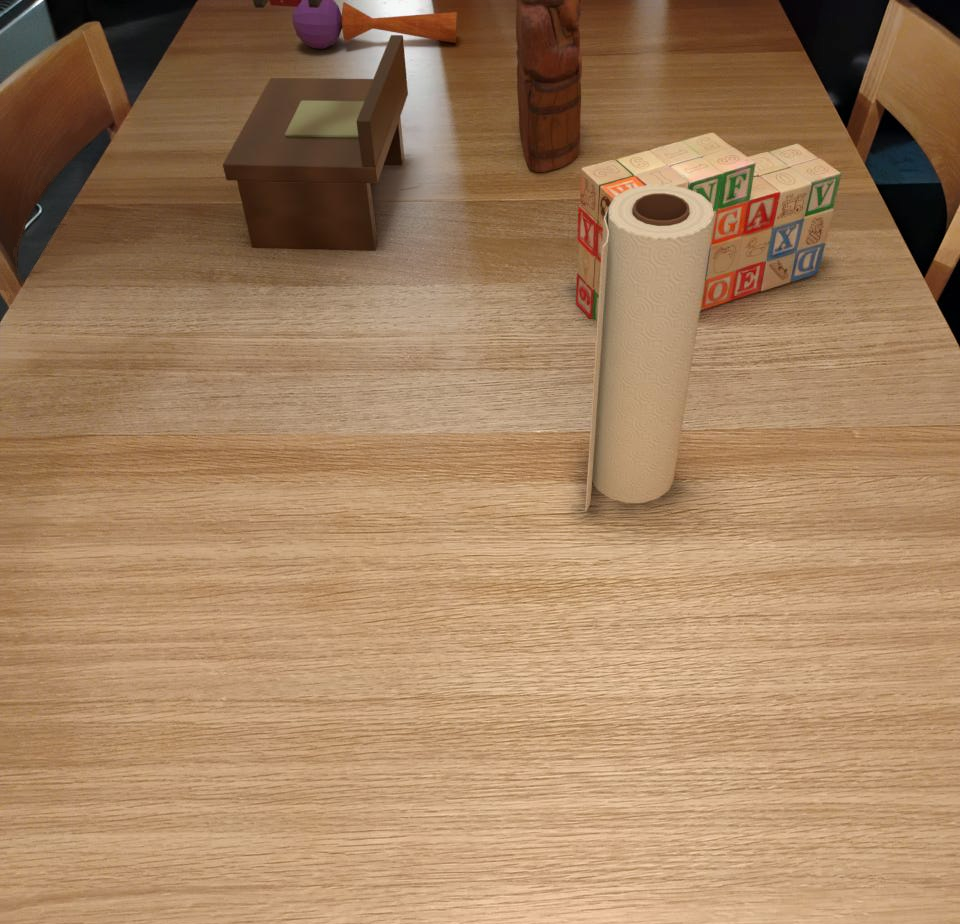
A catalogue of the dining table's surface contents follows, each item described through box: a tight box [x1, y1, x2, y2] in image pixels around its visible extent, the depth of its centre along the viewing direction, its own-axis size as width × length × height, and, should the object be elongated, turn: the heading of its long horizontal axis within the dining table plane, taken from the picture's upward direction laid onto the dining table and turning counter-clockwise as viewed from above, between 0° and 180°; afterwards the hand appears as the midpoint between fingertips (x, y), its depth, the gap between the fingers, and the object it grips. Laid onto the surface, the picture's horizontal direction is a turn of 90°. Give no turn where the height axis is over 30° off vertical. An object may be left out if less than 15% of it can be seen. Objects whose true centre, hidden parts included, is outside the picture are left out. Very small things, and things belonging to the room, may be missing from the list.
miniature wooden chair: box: [222, 34, 409, 251], centre depth 96 cm, size 14×18×12 cm
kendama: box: [291, 0, 458, 50], centre depth 123 cm, size 6×6×20 cm
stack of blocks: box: [575, 132, 842, 320], centre depth 84 cm, size 21×6×12 cm, turn 114°
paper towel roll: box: [584, 185, 714, 512], centre depth 65 cm, size 7×6×21 cm
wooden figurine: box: [515, 0, 583, 173], centre depth 99 cm, size 12×6×18 cm, turn 3°
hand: (288, 3), depth 83 cm, fingers closed on dice, 4 cm apart
